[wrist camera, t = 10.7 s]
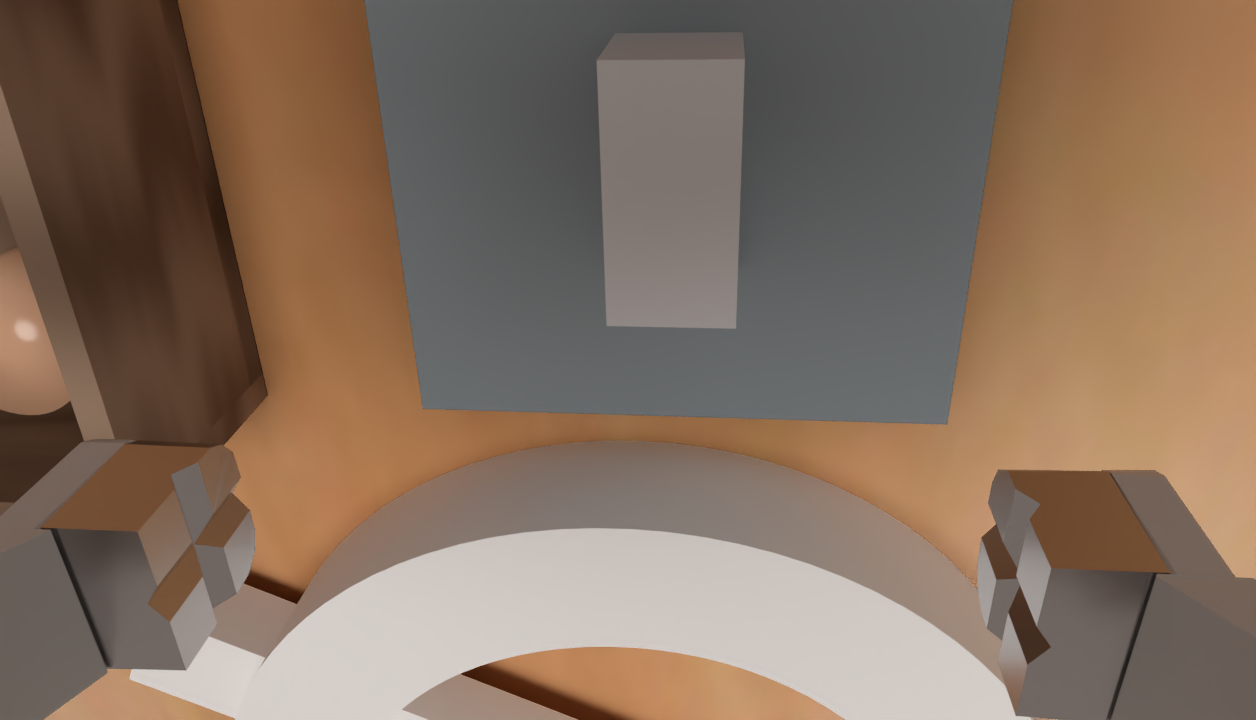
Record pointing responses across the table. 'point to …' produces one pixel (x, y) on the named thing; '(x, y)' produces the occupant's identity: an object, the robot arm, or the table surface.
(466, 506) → the ring with crossbar
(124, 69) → the walnut box
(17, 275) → the terracotta egg
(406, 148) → the lid
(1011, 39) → the table surface
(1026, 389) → the table surface
